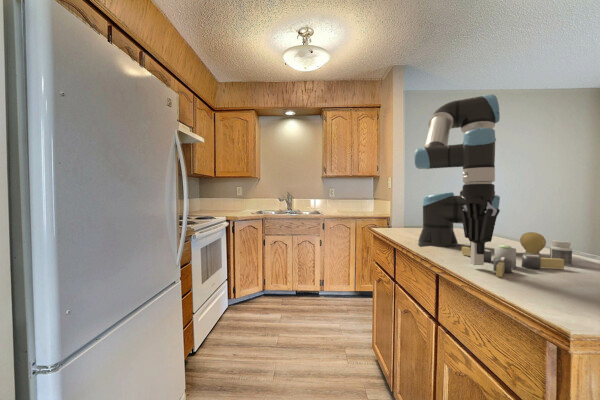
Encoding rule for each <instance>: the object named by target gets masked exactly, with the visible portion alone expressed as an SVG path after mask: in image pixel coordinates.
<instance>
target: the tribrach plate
mask: <svg viewBox="0 0 600 400" xmlns="http://www.w3.org/2000/svg"><path fill="white" fill-rule="evenodd" d="M493 257H494V258H501V257H505V259H509V260H512V269H516V268H517V248H515V247H512V246H510V245H502V244H500V245H497V246H496V245H495V246H494V256H493ZM494 258H493V259H494Z"/></svg>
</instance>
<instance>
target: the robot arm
mask: <svg viewBox="0 0 600 400" xmlns="http://www.w3.org/2000/svg"><path fill="white" fill-rule="evenodd" d="M498 100H499V99H498V98H497V96H496V95H495V94H487V95H484V94H483V95H480V96H475V97H469V98H464V99H457V100H454V101H453V100H452V101H450V102H447V103H445V104H443V105H441V106H440V107H438V108H437V109H436V110H435V111H434V112H433V113H432V114H431V116H430V118H429V120H428V124H427V125H428V132H427V136H426V138H425V139H426V140H425V143H424V145H423V146H422V147H419V148H416V150H415V151H414V165H415V168H416V169H418V170H422V169H423V170H425V169H426V170H430V169H433V170H434V169H444V168H462V182H463V183H464V184H463V185H462V189H461V190H460V191H459V195H455V193H454V192H452V191H451V192H445V193H436V194H434V193H433V194H427V195H425V196H424V197H423V199H422V200H423V201H422V229H421V233H420V234H419V238H418V241H417V242H418V244H417V245H418V246H419V247H422V248H424V247H437V248H454V247H458V246H459V242H458V240H457V236H456V234H455V231H454V224H459V225H460V224H462V227H463V235H464V238H465V239H468V242H469V243H470V244H469V246H470V247H469V248H470V251H471V256H470V264H471V265H473V266H484V264H485V263H484V253H485V248H486V246H485V245H486V243H491V242H492V241H493V235H494V230H495V226H496V223H497V219H498V218H497V217H498V216H499V213H500V212H501V211H500V200H501V196H500V195H498V194H497V195H496V191H495V188H496V187H495V184H494V182H495V181H496V168H495V166H496V165H495V164H496V162H495V161H496V141H497V138H496V130H495V129H494V128H495V127H496V124H497V123H499V121H500V117H501V115H500V104H499V101H498ZM457 128H459V129H460V130H461V132H462V133H463V139H462V143H459V144H457V143H456V144H449V137H450V130H452V129H457Z"/></svg>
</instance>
